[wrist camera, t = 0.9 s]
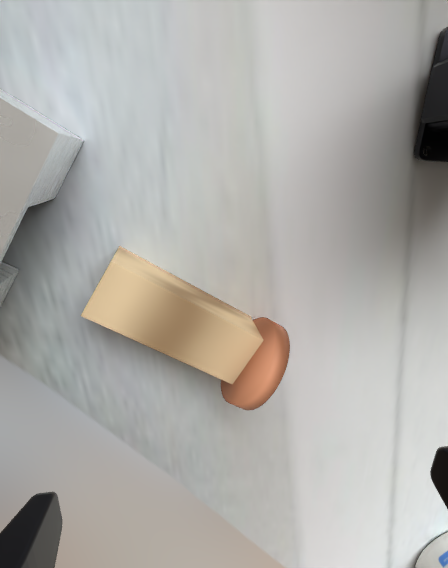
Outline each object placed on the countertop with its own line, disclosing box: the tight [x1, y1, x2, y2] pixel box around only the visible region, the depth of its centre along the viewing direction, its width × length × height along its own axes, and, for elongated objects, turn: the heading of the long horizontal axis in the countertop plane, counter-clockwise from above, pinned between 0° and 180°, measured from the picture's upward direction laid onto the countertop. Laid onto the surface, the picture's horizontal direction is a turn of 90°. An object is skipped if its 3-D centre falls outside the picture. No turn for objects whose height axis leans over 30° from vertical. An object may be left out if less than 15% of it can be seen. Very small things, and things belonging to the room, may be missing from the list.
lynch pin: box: [81, 246, 290, 410], centre depth 18 cm, size 10×5×5 cm, turn 57°
